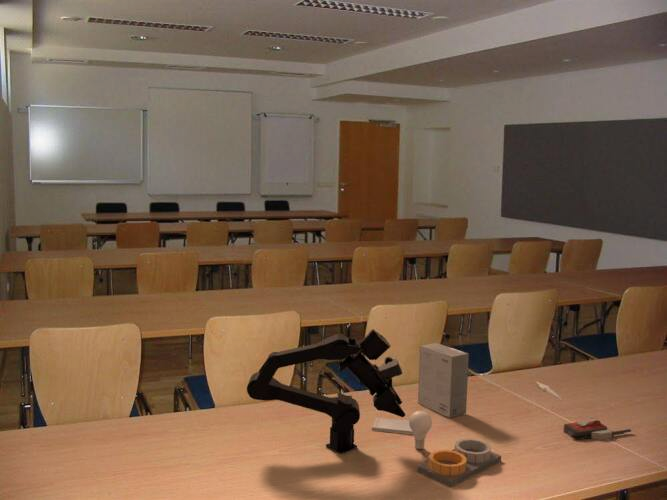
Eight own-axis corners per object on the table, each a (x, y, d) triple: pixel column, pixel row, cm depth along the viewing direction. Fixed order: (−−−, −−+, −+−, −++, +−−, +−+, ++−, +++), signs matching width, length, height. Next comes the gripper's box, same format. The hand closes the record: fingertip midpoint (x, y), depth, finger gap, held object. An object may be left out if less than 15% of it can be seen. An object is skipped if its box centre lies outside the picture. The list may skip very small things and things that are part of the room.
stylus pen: (533, 385, 248) (534, 380, 247) (539, 385, 249) (540, 380, 248) (558, 402, 234) (559, 397, 233) (565, 401, 235) (565, 396, 234)
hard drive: (416, 420, 211) (376, 416, 214) (413, 431, 203) (371, 426, 206) (416, 426, 211) (375, 421, 214) (413, 436, 203) (371, 432, 206)
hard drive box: (467, 414, 220) (470, 353, 217) (449, 419, 216) (452, 357, 213) (433, 399, 233) (436, 341, 230) (416, 403, 228) (419, 345, 225)
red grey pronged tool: (577, 444, 199) (633, 436, 206) (578, 430, 199) (634, 422, 205) (558, 432, 208) (612, 425, 214) (559, 419, 207) (613, 411, 214)
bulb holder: (451, 486, 172) (451, 471, 172) (417, 471, 180) (417, 456, 180) (501, 461, 187) (501, 447, 186) (467, 447, 195) (468, 434, 194)
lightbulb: (432, 454, 190) (433, 416, 189) (409, 453, 191) (410, 415, 189) (429, 444, 197) (430, 407, 195) (407, 443, 197) (408, 407, 195)
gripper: (387, 361, 180) (428, 402, 182) (382, 341, 199) (419, 379, 200) (357, 390, 181) (397, 430, 183) (355, 367, 200) (391, 404, 202)
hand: (402, 409), depth 192 cm, fingers open, 9 cm apart
